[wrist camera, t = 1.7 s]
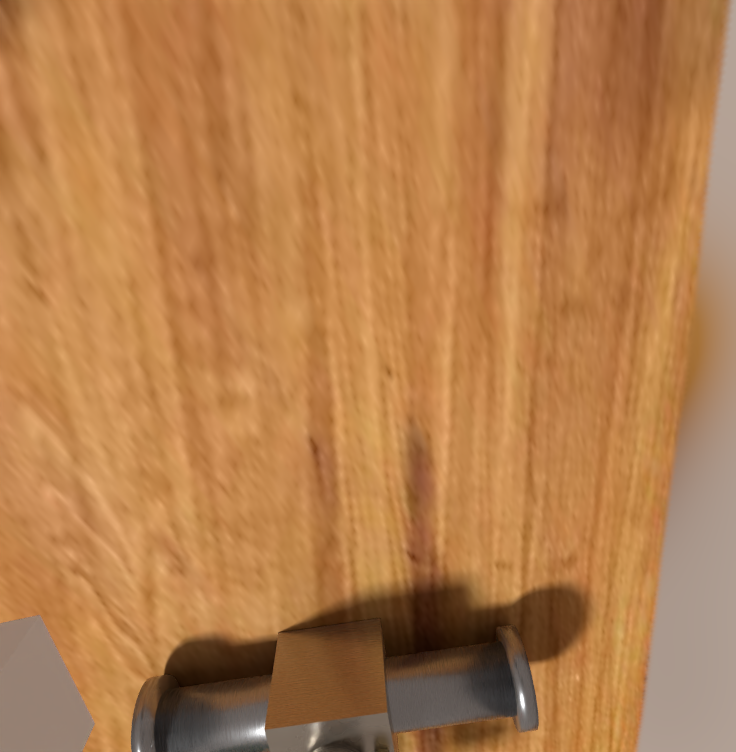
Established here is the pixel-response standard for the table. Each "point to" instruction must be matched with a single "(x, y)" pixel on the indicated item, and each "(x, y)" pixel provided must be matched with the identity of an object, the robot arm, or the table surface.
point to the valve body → (339, 696)
